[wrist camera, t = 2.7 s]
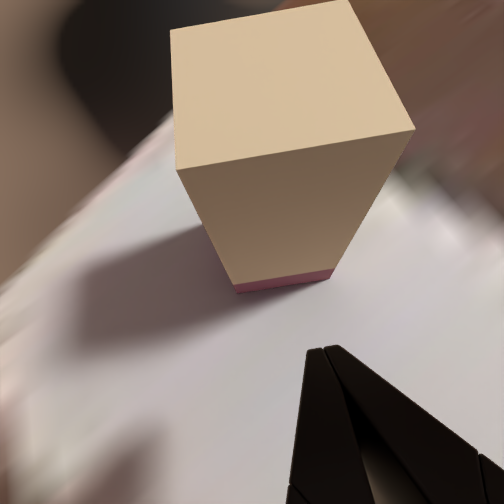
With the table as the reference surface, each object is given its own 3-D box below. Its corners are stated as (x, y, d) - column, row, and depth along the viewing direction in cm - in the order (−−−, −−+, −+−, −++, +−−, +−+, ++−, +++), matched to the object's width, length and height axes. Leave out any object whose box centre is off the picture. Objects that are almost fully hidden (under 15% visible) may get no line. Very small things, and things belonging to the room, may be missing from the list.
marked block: (329, 278, 18) (415, 129, 7) (237, 293, 18) (175, 170, 7) (308, 201, 20) (347, -2, 9) (227, 214, 20) (170, 29, 9)
